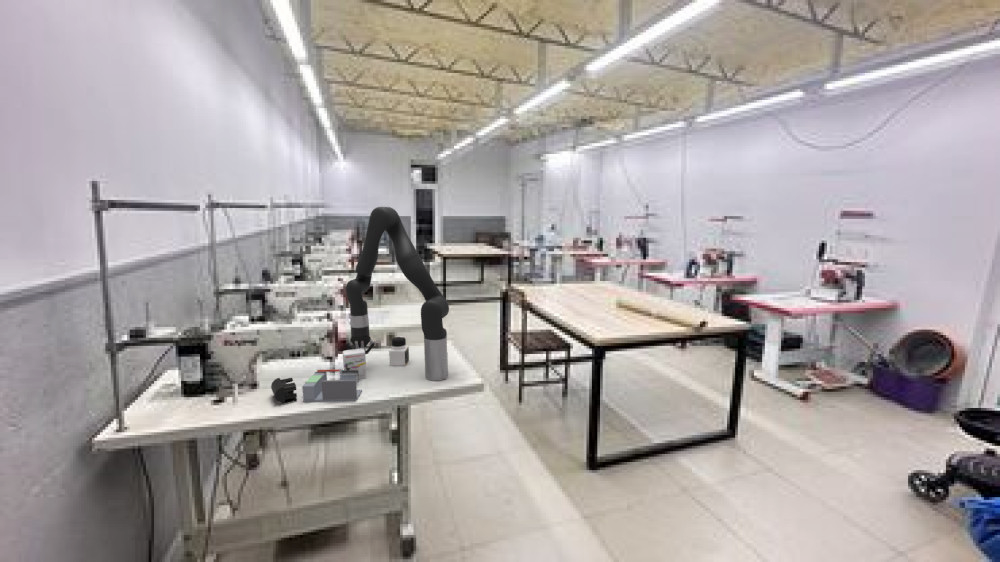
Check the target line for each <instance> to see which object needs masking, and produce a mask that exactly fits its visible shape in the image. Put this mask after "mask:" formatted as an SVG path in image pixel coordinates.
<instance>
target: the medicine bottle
mask: <svg viewBox="0 0 1000 562" xmlns="http://www.w3.org/2000/svg"><path fill="white" fill-rule="evenodd" d="M406 341H407V340H406V337H405V336H400V335H399V336H394V337H393V338H391V348H390V349H389V350H388V355H389V366H390V367H392V366H393V367H406V366H407V364H408V363H409V361H410V352H409V351H410V349H409V348H410V347H409V345H407V342H406Z"/></svg>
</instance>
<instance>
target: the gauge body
mask: <svg viewBox="0 0 1000 562" xmlns="http://www.w3.org/2000/svg"><path fill="white" fill-rule="evenodd" d="M327 374H328V373H327V372H317V371H315V372H314V373H313V374H312V375H311V376H310V377H309V378H308V379H307V380H306V381H305V382H304V384H302V386H301V387H302V388H301V389H302V399H303V403H321V402H322V403H324V402H325V403H326V402H327V403H328V402H329V403H330V402H332V403H333V402H357V401H358V400H359V398H360V396H361V395H362V393H363V389H357V385H356V380H340V379H328V377H327V376H328V375H327ZM358 397H359V398H358ZM356 400H357V401H356Z"/></svg>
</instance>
